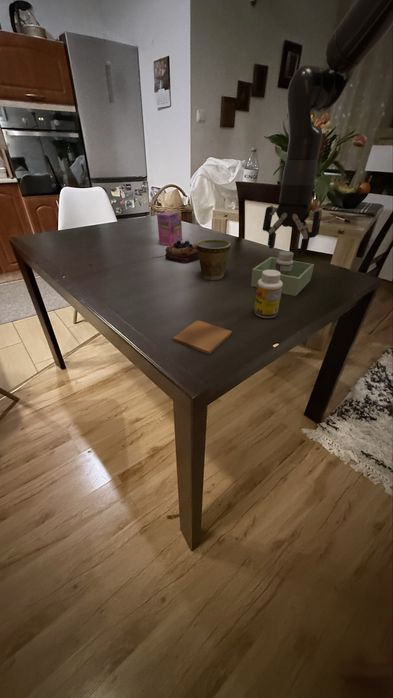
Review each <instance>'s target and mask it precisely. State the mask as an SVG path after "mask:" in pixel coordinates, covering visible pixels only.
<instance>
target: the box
mask: <svg viewBox="0 0 393 698" xmlns="http://www.w3.org/2000/svg"><path fill="white" fill-rule="evenodd" d="M156 215H157V216H156V218H157V230H158V242H159V243H158V245H160V246H166V247H169V246H171V245H173V244H174V243H176V242H177V241H178V240H180V241H182V240H183V228H182V227H183V225H182V211H181V210H178V209H169V210H166V211H163V212H160V213H157V214H156Z"/></svg>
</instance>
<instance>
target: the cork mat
mask: <svg viewBox="0 0 393 698" xmlns="http://www.w3.org/2000/svg"><path fill="white" fill-rule="evenodd" d="M231 335H233V331H232V330H230V329H226V328H223V327H220V326H218V325H214V324H212V323H208V322H205V321H201V320H199V319H196V320H195V321H193V322H192V323H191V324H189V325H188V326H187V327H186V328H184V329H183V330H181V331H180V332H178V333H177V334H176V335H174V336H173V337H172V341H173V342H174V343H175V342H176V343H177V344H180V345H182V346H185V347H188V348H191V349H193V350H196V351H199V352H201V353H203V354H206V355H208V356H209V355H211V354H212V353H213V352H215V350H216V349H218V348H219V347H220V346H221V345H222V344H223V343H224V342H226V340H228V339H229V337H230V336H231Z"/></svg>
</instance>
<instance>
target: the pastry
mask: <svg viewBox="0 0 393 698" xmlns="http://www.w3.org/2000/svg"><path fill="white" fill-rule="evenodd" d="M196 244H197V243H193V244H192V243H191V242H190V240H185V241H183V242H182V240H178V241H177V242H176V243H174V244H173V245H171V246H166V248H165V254H164V255H165V260H168V261H171V262H176V263H182V264H189V263H192V262H195V261H199V256H198V252H197V245H196Z"/></svg>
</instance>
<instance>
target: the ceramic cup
mask: <svg viewBox="0 0 393 698" xmlns="http://www.w3.org/2000/svg"><path fill="white" fill-rule="evenodd" d="M195 244H196V245H197V252H198V256H199V259H198V261H199V265H200V273H201V276H202V278H203V279H205V280H208V281H219V280H221V279H222V278H224V276H225V273H226V267H227V263H228V260H229V259H228V258H229V255H230V251H231V242H230V241H229V240H225V239H219V238H208V239H207V238H206V239H201V240H199V241H197V242H196V243H195Z"/></svg>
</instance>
